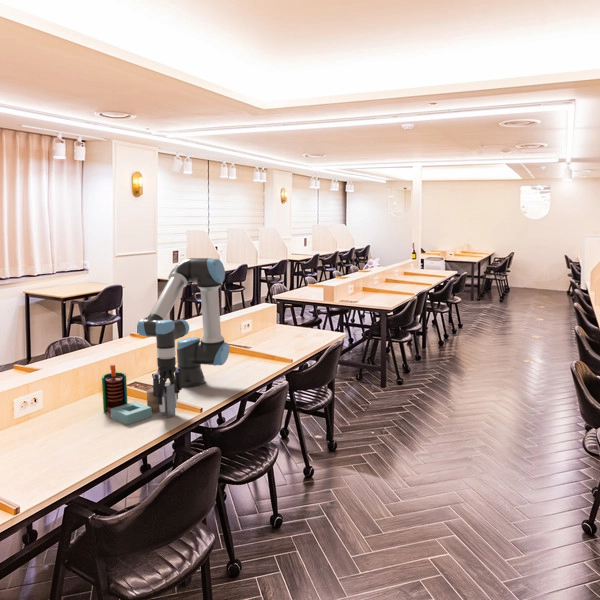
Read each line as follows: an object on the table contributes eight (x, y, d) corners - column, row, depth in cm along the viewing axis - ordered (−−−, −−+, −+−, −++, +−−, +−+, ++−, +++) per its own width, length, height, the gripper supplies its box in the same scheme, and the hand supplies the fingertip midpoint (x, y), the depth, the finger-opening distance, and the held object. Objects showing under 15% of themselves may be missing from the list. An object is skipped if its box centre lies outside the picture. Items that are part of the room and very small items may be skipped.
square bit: (169, 413, 232) (168, 382, 230) (175, 415, 230) (174, 384, 228) (162, 416, 229) (160, 384, 227) (167, 418, 227) (166, 386, 225)
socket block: (135, 410, 236) (135, 401, 236) (151, 416, 229) (151, 407, 228) (111, 417, 227) (110, 408, 227) (127, 424, 220) (126, 415, 219)
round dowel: (156, 407, 240) (155, 387, 239) (164, 410, 236) (163, 390, 235) (144, 411, 235) (143, 391, 234) (153, 414, 232) (152, 394, 230)
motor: (106, 414, 231) (104, 369, 228) (100, 408, 238) (98, 365, 235) (130, 409, 237) (127, 366, 234) (123, 404, 244) (121, 361, 241)
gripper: (178, 351, 235) (180, 401, 239) (142, 359, 221) (144, 413, 224) (189, 353, 231) (191, 405, 234) (153, 362, 216) (155, 417, 220)
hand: (168, 409), depth 229 cm, fingers open, 6 cm apart
